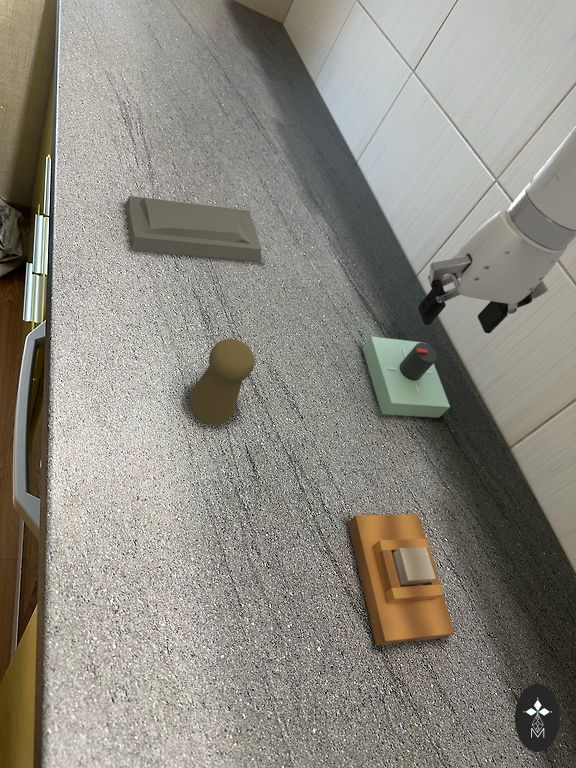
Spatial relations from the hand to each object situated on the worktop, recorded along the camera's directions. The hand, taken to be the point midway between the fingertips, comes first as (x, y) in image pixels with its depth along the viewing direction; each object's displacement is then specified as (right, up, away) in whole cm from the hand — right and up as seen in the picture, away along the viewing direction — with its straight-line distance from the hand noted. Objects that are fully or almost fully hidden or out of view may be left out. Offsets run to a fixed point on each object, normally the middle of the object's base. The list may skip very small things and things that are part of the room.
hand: (453, 320), depth 75 cm
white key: (-8, -29, -11) cm, 32 cm away
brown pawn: (-31, -11, -3) cm, 33 cm away
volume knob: (-4, -6, +10) cm, 12 cm away
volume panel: (-5, -8, +12) cm, 15 cm away
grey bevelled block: (-37, +15, +15) cm, 42 cm away
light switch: (-9, -31, -8) cm, 33 cm away
